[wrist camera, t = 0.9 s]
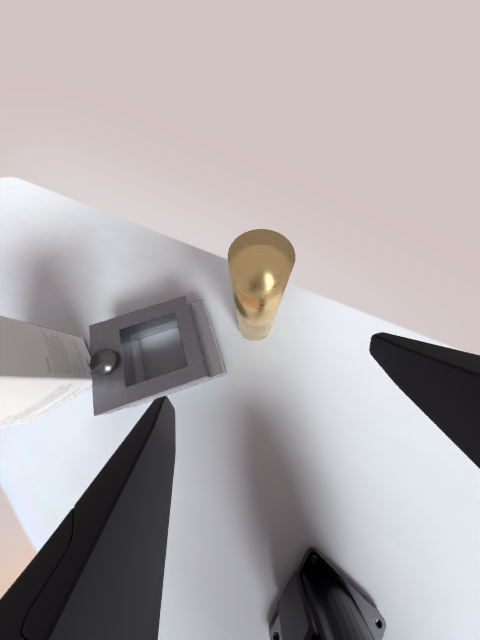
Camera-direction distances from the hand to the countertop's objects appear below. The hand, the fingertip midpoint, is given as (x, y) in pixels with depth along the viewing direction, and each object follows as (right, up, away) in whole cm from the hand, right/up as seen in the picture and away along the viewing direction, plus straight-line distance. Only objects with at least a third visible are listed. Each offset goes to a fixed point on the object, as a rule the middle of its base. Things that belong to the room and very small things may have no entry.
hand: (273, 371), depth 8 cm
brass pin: (0, +2, +15) cm, 16 cm away
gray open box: (-10, -2, +15) cm, 18 cm away
